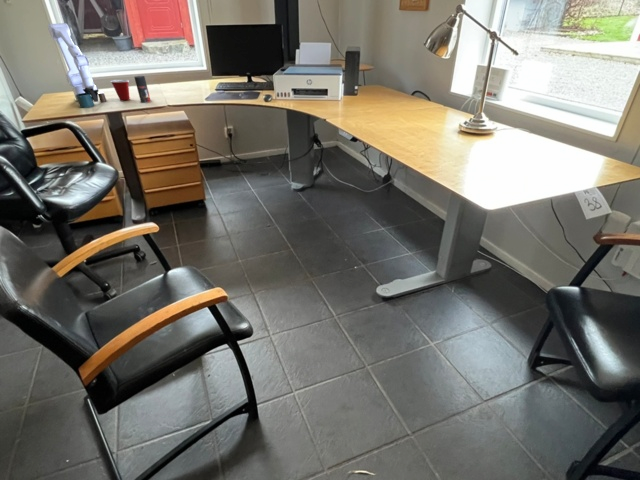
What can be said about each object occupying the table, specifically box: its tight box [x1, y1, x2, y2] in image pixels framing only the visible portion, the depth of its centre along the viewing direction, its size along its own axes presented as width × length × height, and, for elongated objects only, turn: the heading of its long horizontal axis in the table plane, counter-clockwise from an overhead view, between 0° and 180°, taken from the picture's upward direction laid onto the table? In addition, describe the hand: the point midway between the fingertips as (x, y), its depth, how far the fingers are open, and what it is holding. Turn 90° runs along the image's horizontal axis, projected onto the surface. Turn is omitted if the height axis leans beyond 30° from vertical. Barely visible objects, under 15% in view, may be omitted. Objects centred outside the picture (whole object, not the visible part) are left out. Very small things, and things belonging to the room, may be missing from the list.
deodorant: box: [134, 75, 152, 104], centre depth 241 cm, size 6×6×15 cm
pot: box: [75, 93, 95, 109], centre depth 236 cm, size 10×8×7 cm
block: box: [98, 91, 107, 103], centre depth 246 cm, size 4×4×6 cm
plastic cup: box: [110, 79, 130, 102], centre depth 247 cm, size 11×11×12 cm
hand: (94, 100), depth 240 cm, fingers closed on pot, 5 cm apart
